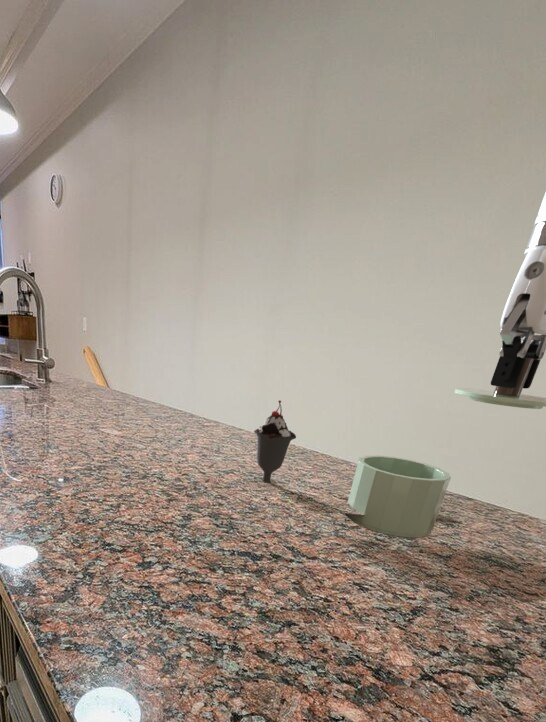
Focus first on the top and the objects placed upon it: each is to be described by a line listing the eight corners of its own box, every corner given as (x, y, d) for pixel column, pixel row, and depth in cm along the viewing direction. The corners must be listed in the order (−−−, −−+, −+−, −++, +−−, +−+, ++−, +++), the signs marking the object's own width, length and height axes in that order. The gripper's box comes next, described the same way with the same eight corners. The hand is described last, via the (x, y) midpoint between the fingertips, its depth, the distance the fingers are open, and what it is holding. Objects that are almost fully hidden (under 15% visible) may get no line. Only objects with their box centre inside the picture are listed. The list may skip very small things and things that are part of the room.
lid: (491, 397, 74) (505, 356, 71) (580, 412, 62) (601, 364, 60) (433, 394, 69) (446, 350, 67) (518, 410, 58) (538, 358, 56)
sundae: (269, 483, 80) (285, 398, 74) (292, 497, 74) (311, 406, 68) (237, 485, 78) (251, 397, 72) (258, 499, 72) (275, 405, 66)
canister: (386, 503, 75) (401, 455, 72) (450, 534, 65) (470, 479, 61) (328, 507, 71) (341, 455, 68) (386, 540, 61) (404, 481, 57)
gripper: (571, 225, 51) (510, 390, 58) (624, 249, 59) (564, 391, 66) (500, 233, 57) (452, 382, 64) (557, 254, 65) (508, 384, 72)
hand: (509, 385), depth 65 cm, fingers closed on lid, 3 cm apart
